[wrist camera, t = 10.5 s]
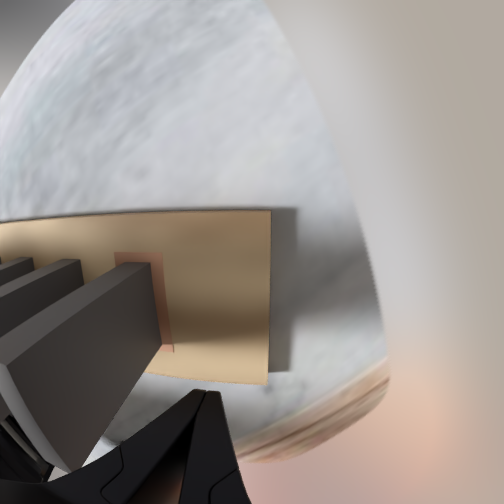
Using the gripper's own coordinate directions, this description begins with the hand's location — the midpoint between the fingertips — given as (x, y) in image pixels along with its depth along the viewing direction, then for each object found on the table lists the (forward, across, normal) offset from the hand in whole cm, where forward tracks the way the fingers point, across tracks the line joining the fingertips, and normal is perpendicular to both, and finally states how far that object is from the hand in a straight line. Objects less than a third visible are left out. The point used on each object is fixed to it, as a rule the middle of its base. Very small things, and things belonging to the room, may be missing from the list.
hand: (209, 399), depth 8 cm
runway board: (+8, +13, 0) cm, 15 cm away
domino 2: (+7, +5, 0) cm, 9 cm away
